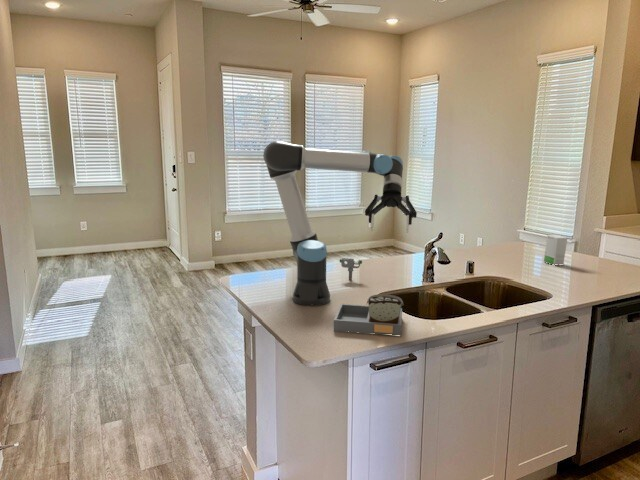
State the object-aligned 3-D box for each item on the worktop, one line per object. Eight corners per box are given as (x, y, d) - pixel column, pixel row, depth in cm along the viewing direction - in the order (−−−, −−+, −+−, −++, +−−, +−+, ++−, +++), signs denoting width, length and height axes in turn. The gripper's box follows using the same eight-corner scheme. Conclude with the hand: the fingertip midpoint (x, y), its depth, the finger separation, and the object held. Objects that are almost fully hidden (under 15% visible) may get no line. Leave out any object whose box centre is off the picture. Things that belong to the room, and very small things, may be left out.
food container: (399, 321, 161) (400, 294, 159) (402, 328, 155) (403, 299, 153) (364, 320, 161) (365, 293, 159) (365, 327, 155) (366, 299, 153)
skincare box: (543, 262, 253) (546, 234, 250) (553, 261, 255) (556, 234, 252) (554, 266, 245) (557, 237, 242) (564, 265, 247) (568, 237, 244)
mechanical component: (360, 281, 212) (361, 260, 210) (338, 280, 214) (339, 259, 212) (361, 279, 215) (362, 259, 213) (339, 278, 217) (340, 257, 215)
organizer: (333, 331, 154) (333, 320, 153) (340, 314, 170) (340, 303, 169) (400, 337, 150) (401, 325, 149) (401, 318, 166) (402, 308, 166)
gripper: (422, 194, 190) (421, 236, 178) (362, 192, 194) (357, 233, 183) (423, 182, 184) (422, 225, 172) (361, 181, 188) (356, 222, 177)
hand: (389, 229), depth 177 cm, fingers open, 13 cm apart
